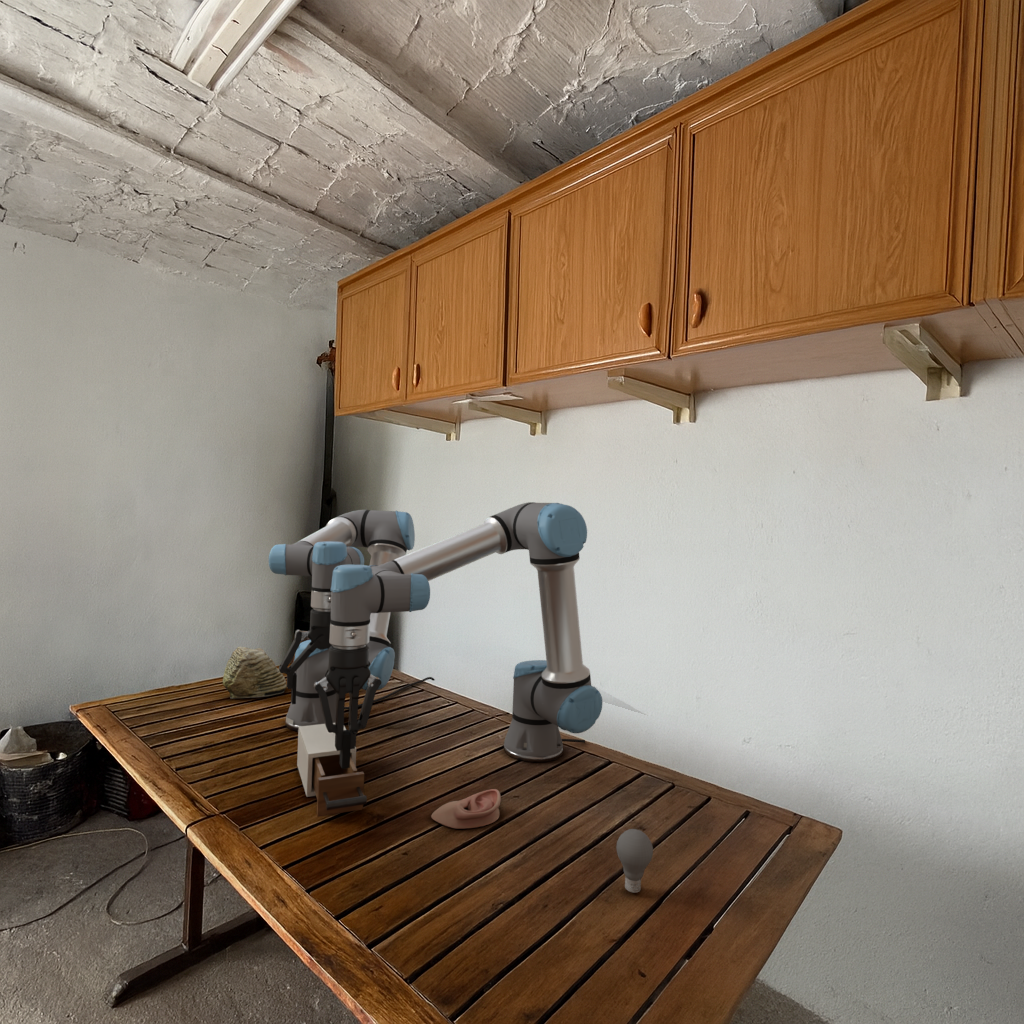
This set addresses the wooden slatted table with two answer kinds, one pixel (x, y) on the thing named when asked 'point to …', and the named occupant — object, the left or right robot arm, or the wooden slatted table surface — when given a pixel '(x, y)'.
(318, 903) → the wooden slatted table surface
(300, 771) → the cabinet
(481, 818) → the anatomical model
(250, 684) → the fossil
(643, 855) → the light bulb
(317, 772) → the drawer
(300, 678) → the left robot arm
